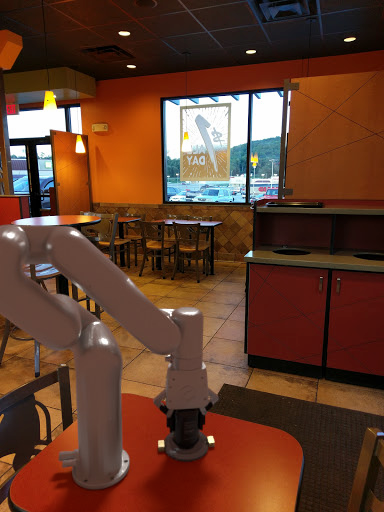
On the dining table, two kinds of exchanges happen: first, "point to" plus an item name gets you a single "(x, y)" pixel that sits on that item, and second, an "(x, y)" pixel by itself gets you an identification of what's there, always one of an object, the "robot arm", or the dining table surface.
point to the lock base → (189, 452)
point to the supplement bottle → (186, 427)
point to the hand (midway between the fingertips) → (185, 427)
